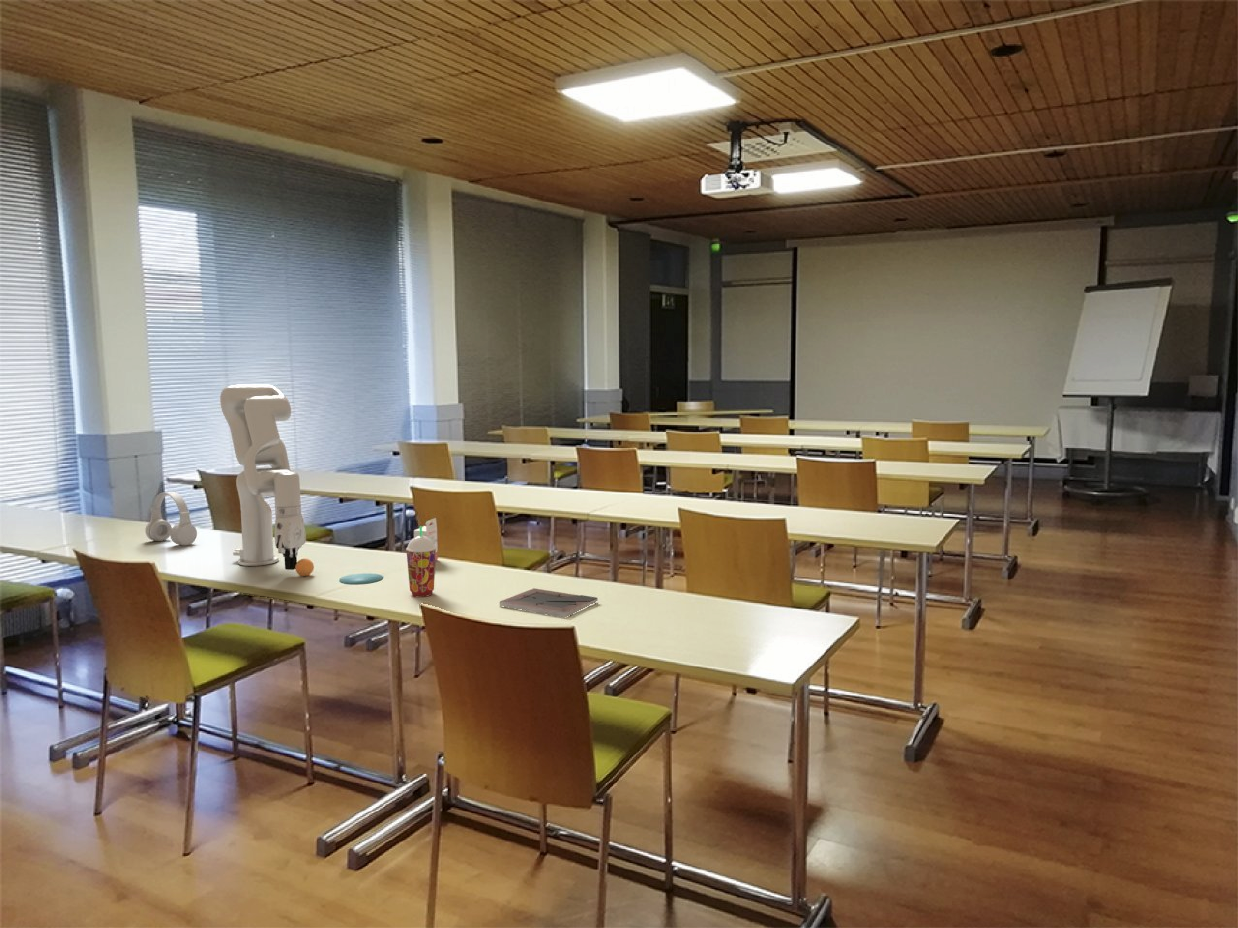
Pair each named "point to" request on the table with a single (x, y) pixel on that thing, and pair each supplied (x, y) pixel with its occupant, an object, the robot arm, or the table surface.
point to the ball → (304, 567)
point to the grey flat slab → (548, 602)
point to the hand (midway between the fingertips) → (291, 568)
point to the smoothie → (421, 565)
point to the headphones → (162, 529)
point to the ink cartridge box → (429, 533)
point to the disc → (361, 578)
